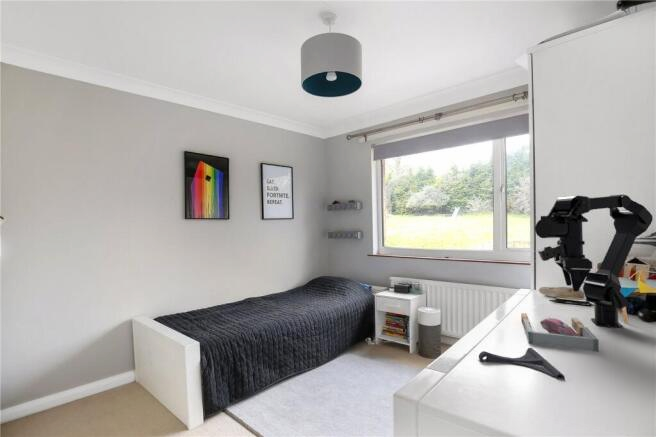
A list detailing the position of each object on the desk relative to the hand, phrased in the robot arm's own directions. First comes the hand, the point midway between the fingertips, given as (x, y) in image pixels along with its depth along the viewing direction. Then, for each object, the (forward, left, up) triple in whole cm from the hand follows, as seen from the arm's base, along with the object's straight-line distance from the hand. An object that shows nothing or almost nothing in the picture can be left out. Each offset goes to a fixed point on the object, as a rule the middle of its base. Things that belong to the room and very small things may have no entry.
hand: (572, 288), depth 100 cm
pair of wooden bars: (+3, -6, -12) cm, 14 cm away
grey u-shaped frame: (+14, -6, -12) cm, 19 cm away
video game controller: (+13, -5, -12) cm, 19 cm away
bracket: (+34, -18, -13) cm, 41 cm away
